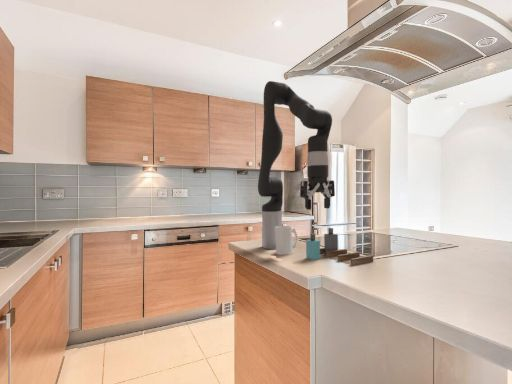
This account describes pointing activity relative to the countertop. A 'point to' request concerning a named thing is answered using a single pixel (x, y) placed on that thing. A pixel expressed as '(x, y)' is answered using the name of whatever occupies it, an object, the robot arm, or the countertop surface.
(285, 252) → the mug
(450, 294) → the countertop surface
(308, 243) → the teal plug
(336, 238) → the charcoal plug
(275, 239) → the robot arm
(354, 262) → the wooden slotted rack
